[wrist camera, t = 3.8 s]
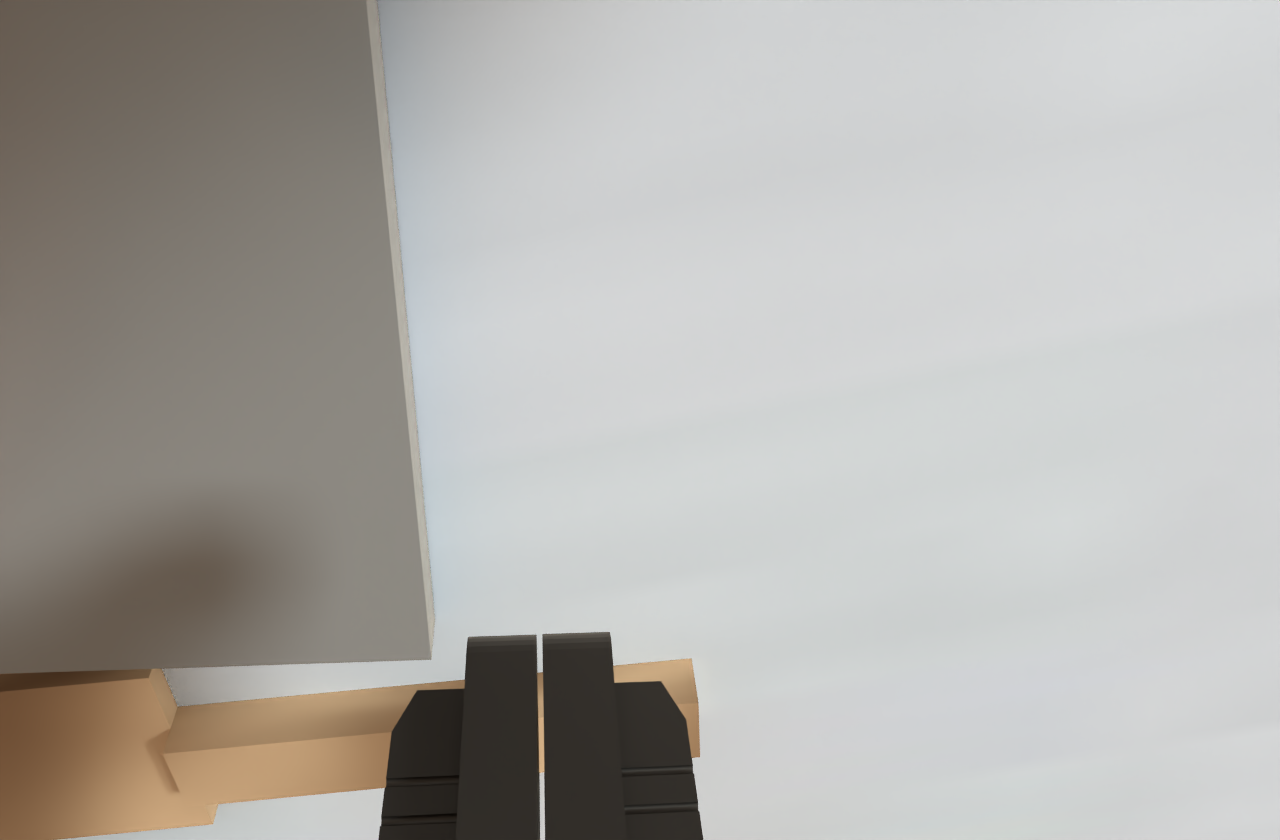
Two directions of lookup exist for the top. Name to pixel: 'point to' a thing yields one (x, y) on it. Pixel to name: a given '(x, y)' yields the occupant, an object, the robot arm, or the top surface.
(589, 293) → the top surface
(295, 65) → the board
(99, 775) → the turner
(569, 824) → the robot arm
